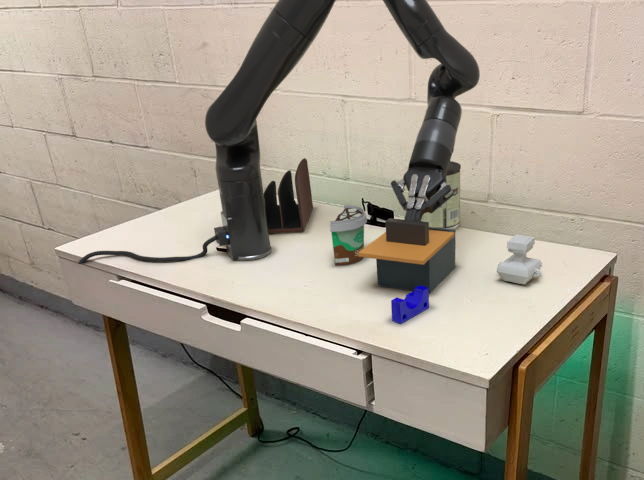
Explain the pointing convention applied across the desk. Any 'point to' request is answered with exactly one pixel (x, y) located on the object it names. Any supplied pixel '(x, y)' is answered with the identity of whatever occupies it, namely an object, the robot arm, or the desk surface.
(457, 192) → the coffee can
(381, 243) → the lid
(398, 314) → the cable holder
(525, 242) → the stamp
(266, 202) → the letter holder
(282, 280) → the desk surface
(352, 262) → the food container
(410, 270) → the bin
